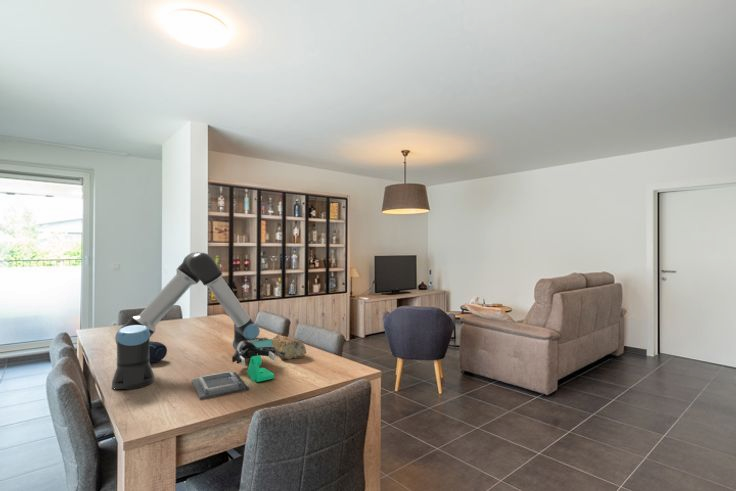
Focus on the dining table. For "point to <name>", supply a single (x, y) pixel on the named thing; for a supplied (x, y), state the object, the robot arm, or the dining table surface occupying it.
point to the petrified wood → (288, 347)
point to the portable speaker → (157, 351)
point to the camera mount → (258, 370)
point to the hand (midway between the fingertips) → (259, 360)
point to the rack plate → (218, 384)
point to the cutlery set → (262, 343)
